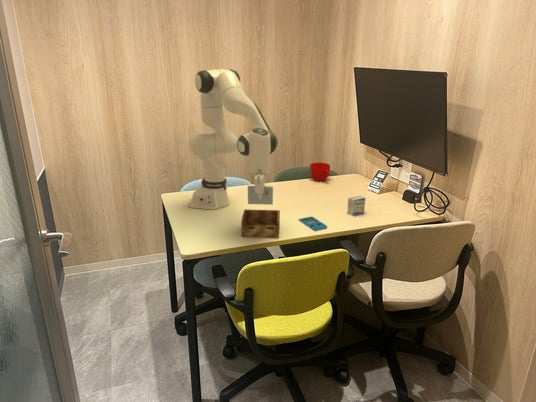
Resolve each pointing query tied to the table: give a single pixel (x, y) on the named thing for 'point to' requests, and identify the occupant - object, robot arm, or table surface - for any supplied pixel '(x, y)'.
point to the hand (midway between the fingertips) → (260, 197)
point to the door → (266, 196)
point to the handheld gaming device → (313, 223)
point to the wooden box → (261, 223)
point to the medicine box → (356, 205)
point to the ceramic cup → (319, 171)
